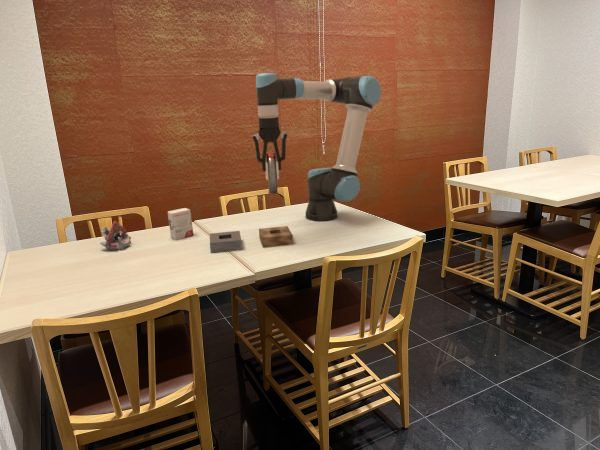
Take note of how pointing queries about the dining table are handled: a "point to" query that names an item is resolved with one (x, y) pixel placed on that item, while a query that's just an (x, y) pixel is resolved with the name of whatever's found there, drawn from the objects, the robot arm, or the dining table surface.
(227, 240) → the dock
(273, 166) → the lock pin
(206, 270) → the dining table surface
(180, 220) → the ink box
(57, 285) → the dining table surface
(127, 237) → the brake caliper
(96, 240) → the dining table surface
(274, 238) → the mount
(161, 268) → the dining table surface
